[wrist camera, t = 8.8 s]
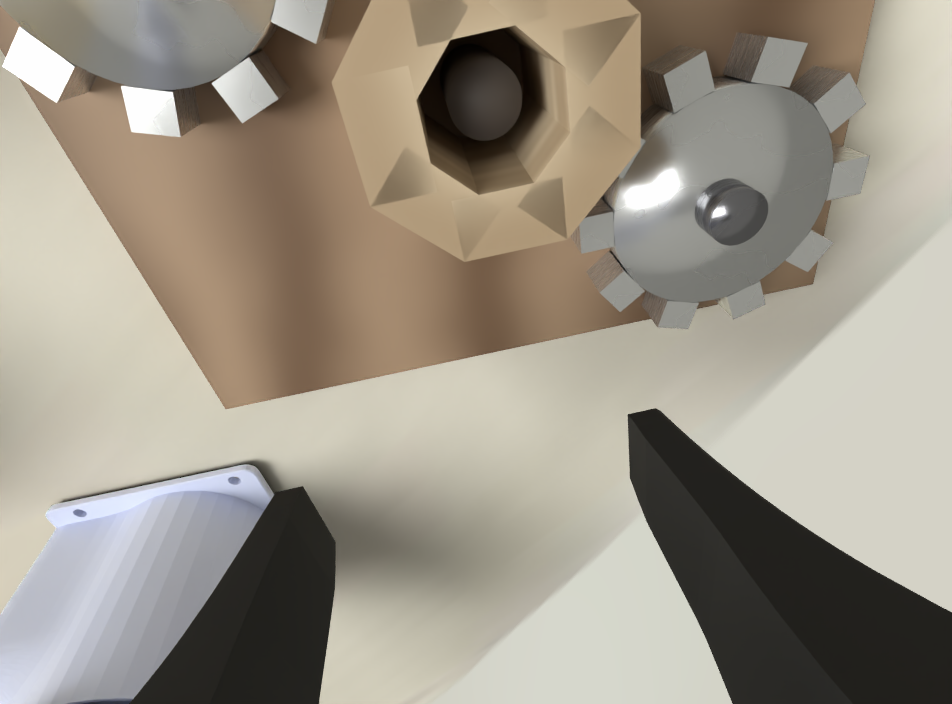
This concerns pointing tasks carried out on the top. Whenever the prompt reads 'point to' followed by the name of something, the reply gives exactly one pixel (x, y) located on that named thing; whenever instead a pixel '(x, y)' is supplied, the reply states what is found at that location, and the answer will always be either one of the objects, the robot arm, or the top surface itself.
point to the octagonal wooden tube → (513, 154)
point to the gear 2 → (723, 180)
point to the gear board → (353, 220)
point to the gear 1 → (159, 52)
